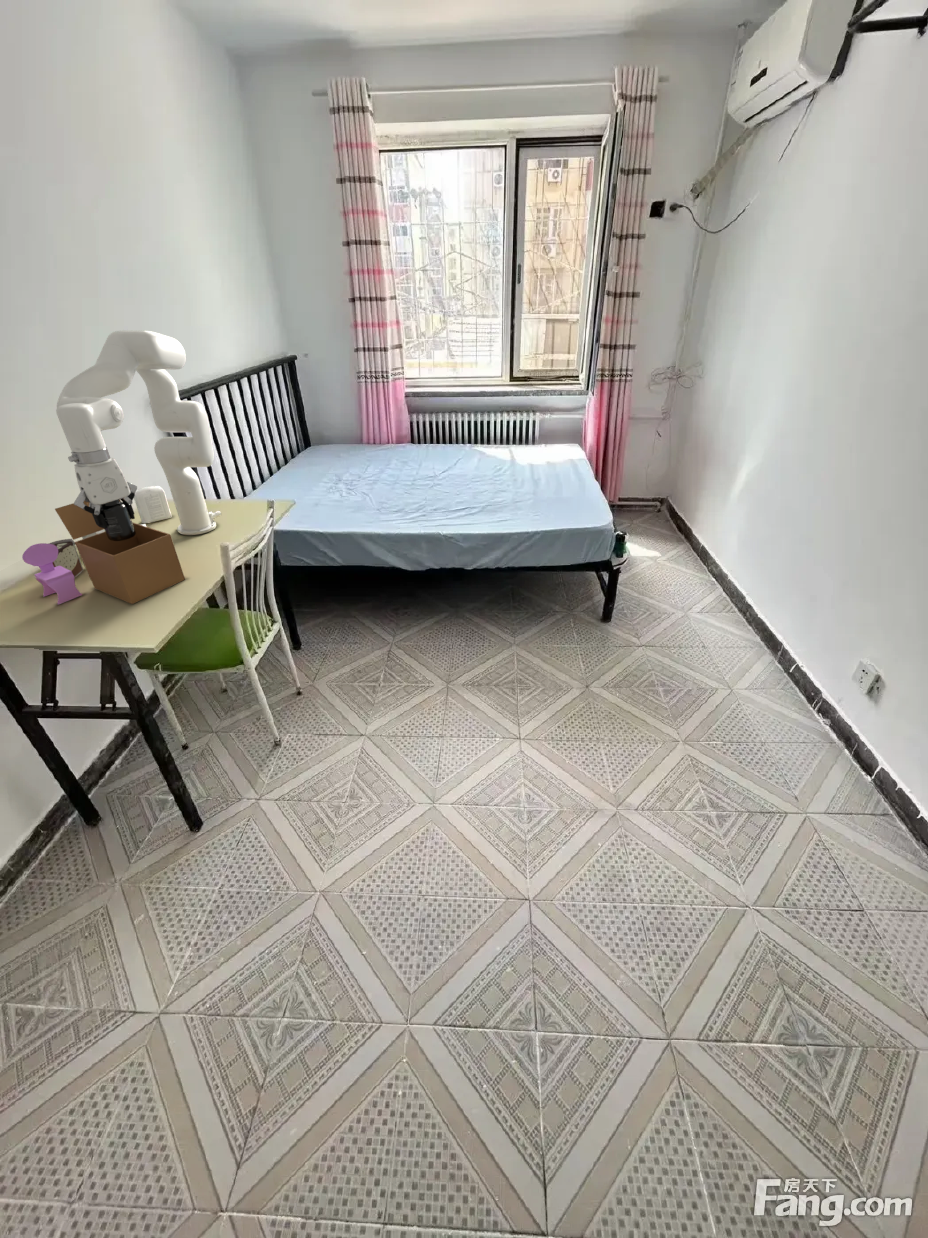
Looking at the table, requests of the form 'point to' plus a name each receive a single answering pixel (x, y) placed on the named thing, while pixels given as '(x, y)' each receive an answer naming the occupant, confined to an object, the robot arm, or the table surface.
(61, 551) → the food container
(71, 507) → the carton flap
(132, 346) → the robot arm
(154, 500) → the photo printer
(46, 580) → the toy chair
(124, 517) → the supplement bottle
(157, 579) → the carton
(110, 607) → the table surface
